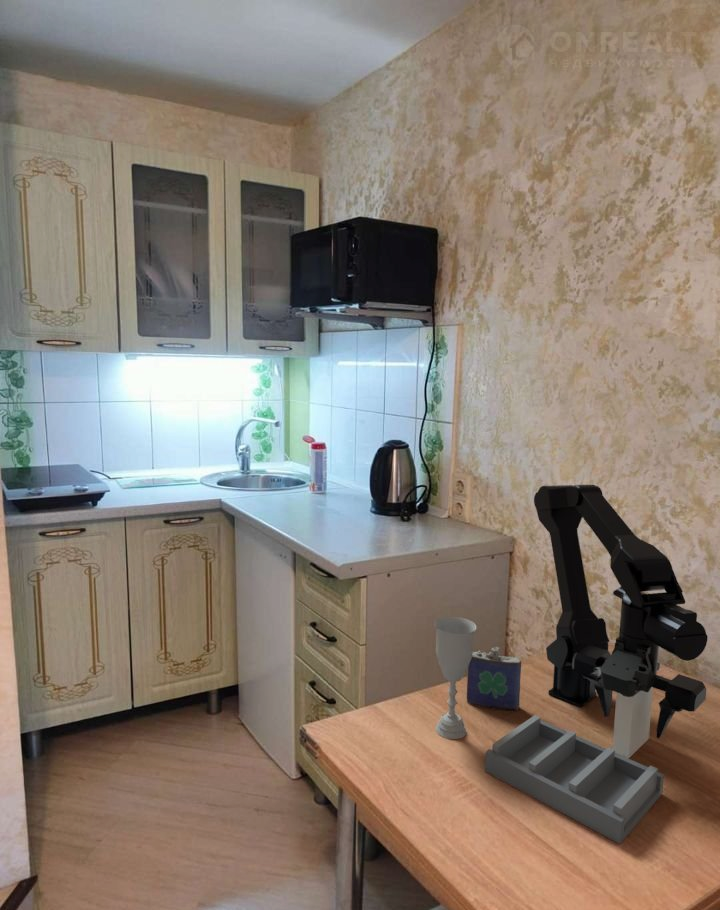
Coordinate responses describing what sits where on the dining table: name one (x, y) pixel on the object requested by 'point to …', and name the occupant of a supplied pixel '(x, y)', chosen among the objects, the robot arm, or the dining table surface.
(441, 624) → the chalice
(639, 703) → the white rectangular block
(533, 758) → the rack
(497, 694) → the flask
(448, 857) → the dining table surface
